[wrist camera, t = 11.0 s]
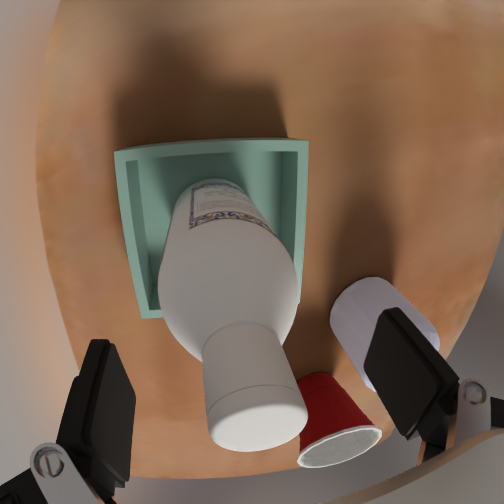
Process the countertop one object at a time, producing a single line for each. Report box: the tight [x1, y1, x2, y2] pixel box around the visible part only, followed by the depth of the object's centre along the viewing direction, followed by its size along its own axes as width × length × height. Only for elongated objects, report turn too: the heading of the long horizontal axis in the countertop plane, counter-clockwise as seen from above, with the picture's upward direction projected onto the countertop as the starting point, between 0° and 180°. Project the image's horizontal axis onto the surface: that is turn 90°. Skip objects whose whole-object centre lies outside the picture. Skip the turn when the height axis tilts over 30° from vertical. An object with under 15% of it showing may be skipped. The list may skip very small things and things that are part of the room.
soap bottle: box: [330, 277, 440, 393], centre depth 23 cm, size 9×9×25 cm
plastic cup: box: [297, 372, 382, 468], centre depth 33 cm, size 11×11×12 cm
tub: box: [114, 137, 309, 319], centre depth 24 cm, size 14×14×5 cm
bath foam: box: [158, 178, 308, 452], centre depth 16 cm, size 7×7×20 cm
